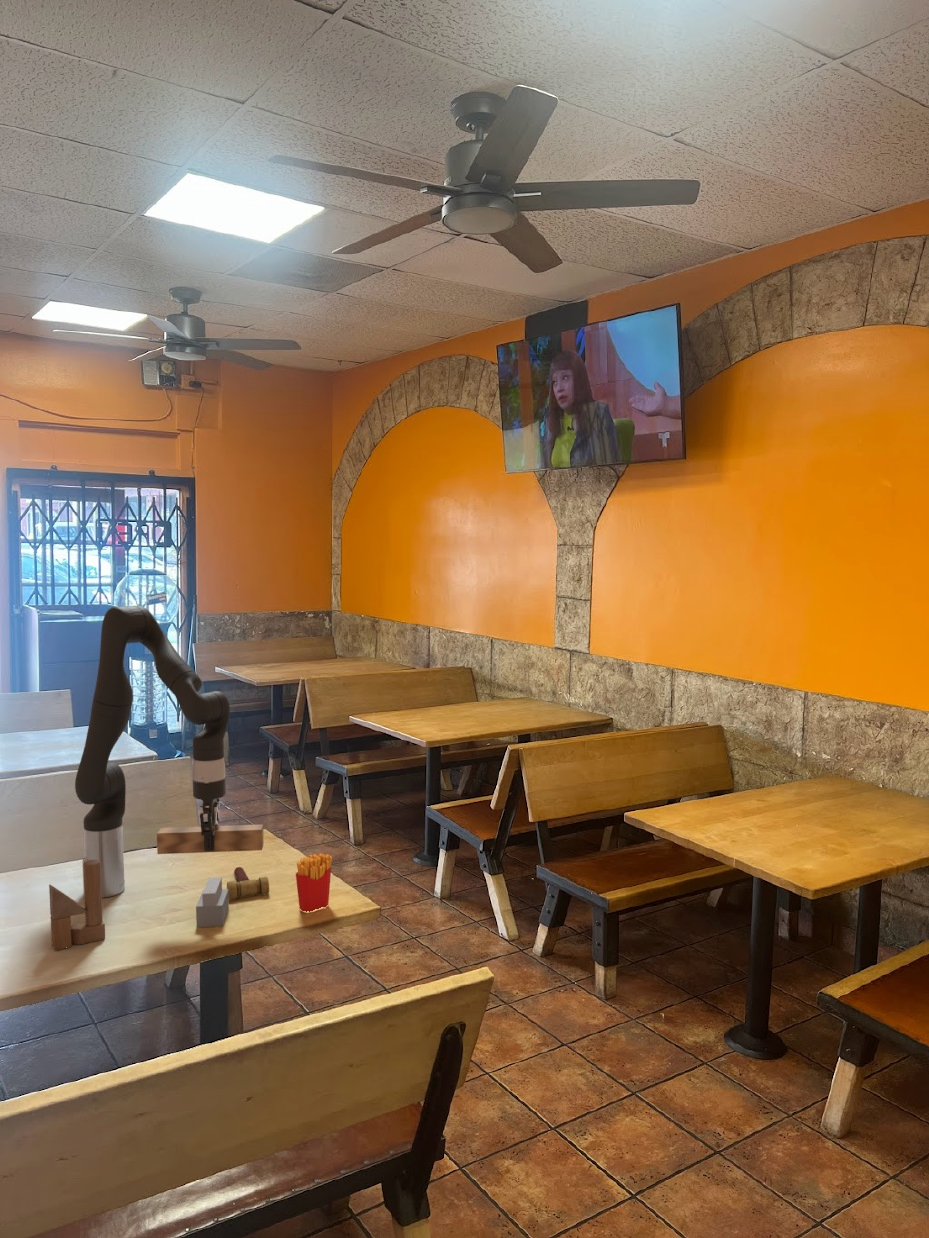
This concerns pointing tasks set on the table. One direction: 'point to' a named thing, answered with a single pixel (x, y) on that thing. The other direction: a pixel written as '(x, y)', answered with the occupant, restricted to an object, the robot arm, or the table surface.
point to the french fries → (313, 881)
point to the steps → (212, 904)
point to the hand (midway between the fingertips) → (210, 846)
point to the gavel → (246, 885)
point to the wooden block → (78, 911)
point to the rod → (223, 839)
